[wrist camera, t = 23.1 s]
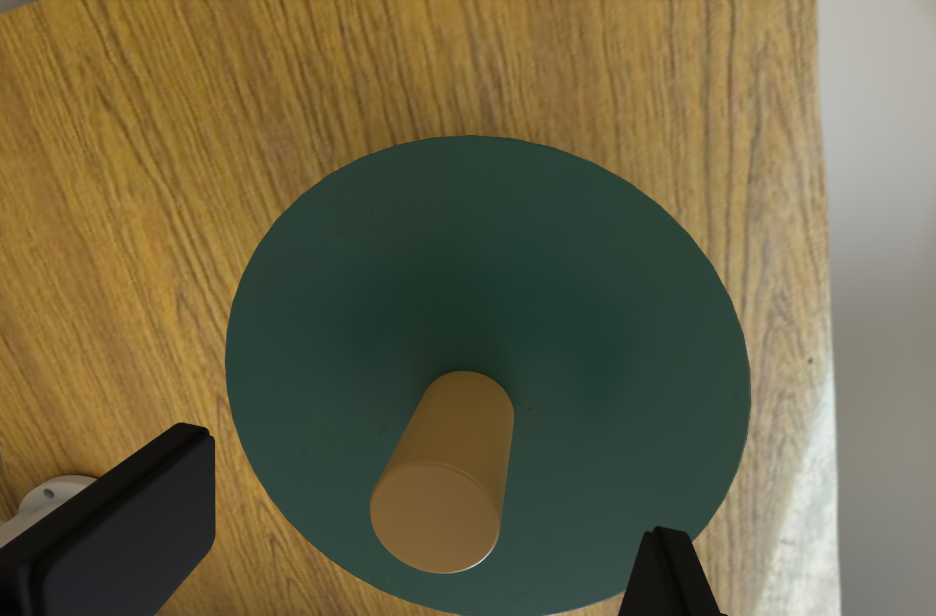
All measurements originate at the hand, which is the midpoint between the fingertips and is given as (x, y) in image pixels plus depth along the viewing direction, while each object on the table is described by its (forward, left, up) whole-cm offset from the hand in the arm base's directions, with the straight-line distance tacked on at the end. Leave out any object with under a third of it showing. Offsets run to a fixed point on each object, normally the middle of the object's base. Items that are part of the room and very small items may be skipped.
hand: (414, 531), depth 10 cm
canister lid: (0, 0, -5) cm, 5 cm away
